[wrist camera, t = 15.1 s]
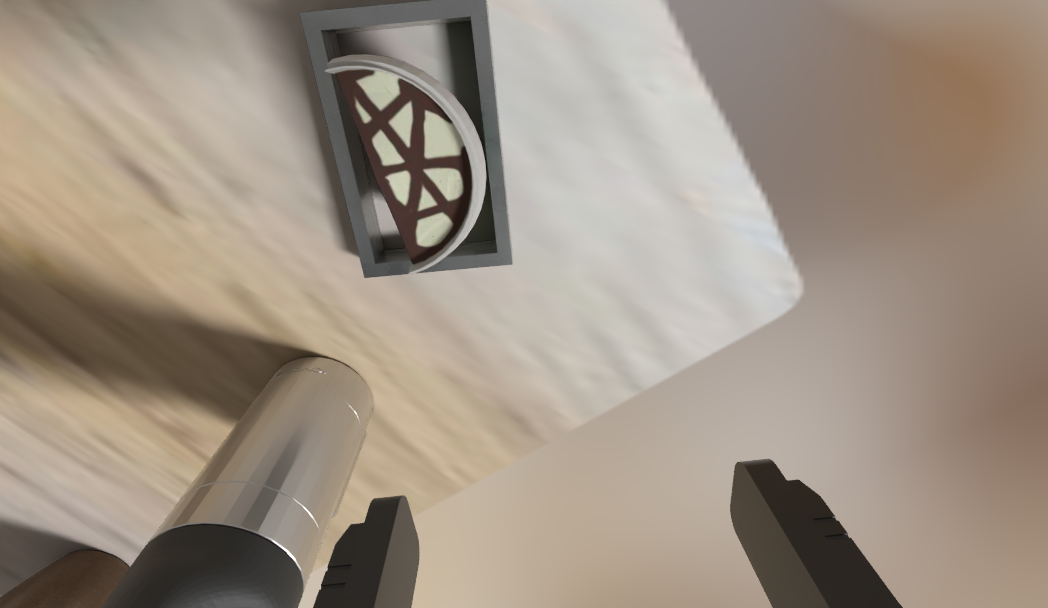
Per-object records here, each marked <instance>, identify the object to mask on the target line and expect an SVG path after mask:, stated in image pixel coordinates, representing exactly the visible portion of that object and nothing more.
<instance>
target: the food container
mask: <svg viewBox="0 0 1048 608" xmlns="http://www.w3.org/2000/svg"><path fill="white" fill-rule="evenodd" d="M327 66H328V68H329V69H327V70H325V72H328V73H332V74H335V75H336V78H337V81H338V83H339V87H340V90H341V92H342V93H343V95H344V97H345V99H346V102H347V104H348V106H349V109H350V111H351V114H352V116H353V119H354V121H355V124H356V127H357V129H358V132H359V134H360V137H361V140H362V142H363V145H364V147H365V150H366V153H367V156H368V159H369V161H370V164H371V167H372V170H373V172H374V175H375V178H376V180H377V182H378V185H379V187H380V189H381V191H382V193H383V196H384V198H385V200H386V202H387V204H388V207H389V209H390V211H391V214H392V216H393V218H394V221H395V223H396V225H397V228H398V230H399V233H400V235H401V238H402V240H403V243H404V245H405V247H406V250H407V252H408V255H409V257H410V260H411V262H412V263H411V267H410V270H409V274H411V273H412V274H414V273H417V272H419V271H422V270H425V269H427V268H429V267H431V266H432V265H434V264H436V263H438V262H439V261H441V260H442V259H443V258H445V257H446V256H447V255H448V254H450V253H451V252H452V251H453V250H454V249H456V248H457V247H458V246H459V244H460V243H461V242H462V241H463V240H464V239H465V238H466V237H467V235H468V234H469V232H470V231H471V229H472V227H473V226H474V224H475V222H476V220H477V218H478V215H479V213H480V211H481V208H482V204H483V200H484V196H485V188H486V165H485V158H484V153H483V149H482V144H481V141H480V139H479V136H478V134H477V131H476V129H475V126H474V124H473V123H472V121H471V119H470V117H469V116H468V114H467V112H466V110H465V109H464V108H463V107H462V105H461V104H460V103H459V102H458V100H457V99H456V98H455V96H454V95H453V94H452V93H451V92H450V91H448V90H447V89H446V88H445V87H444V86H443V85H442V84H441V83H440V82H439V81H437V80H436V79H434V78H433V77H431V76H430V75H429V74H427V73H426V72H424V71H423V70H420V69H418V68H416V67H414V66H412V65H410V64H408V63H406V62H403V61H400V60H396V59H393V58H390V57H385V56H377V55H369V54H364V55H348V56H343V57H339V58H334V59H332V60H331V61H330V62H329V63H328V64H327Z"/></svg>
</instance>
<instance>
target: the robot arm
mask: <svg viewBox="0 0 1048 608" xmlns="http://www.w3.org/2000/svg"><path fill="white" fill-rule="evenodd" d="M372 410H373V399H372V395H371V391H370V390H369V388H368V386H367V384H366V382H365V381H364V380H363V379H362V378H361V377H360V375H358V374H357V373H356V372H355V371H354V370H352V369H351V368H349V367H347V366H346V365H344V364H342V363H340V362H337V361H334V360H331V359H327V358H321V357H305V358H300V359H296V360H293V361H291V362H288V363H286V364H285V365H283V366H282V367H281V368H279V369H278V371H277V372H276V373H275V374H274V375H273V377H272V378H271V379H270V381H269V382H268V383H267V385H266V386H265V387H264V389H263V390H262V391H261V393H260V394H259V395H258V397H257V398H256V399H255V400H254V402H253V403H252V404H251V406H250V407H249V408H248V410H247V411H246V412H245V414H244V415H243V416H242V418H241V419H240V420H239V422H238V423H237V424H236V426H235V427H234V428H233V430H232V431H231V432H230V434H229V435H228V436H227V438H226V439H225V440H224V442H223V443H222V444H221V446H220V447H219V448H218V450H217V451H216V452H215V454H214V455H213V456H212V458H211V459H210V460H209V462H208V463H207V464H206V466H205V467H204V468H203V470H202V471H201V472H200V474H199V475H198V476H197V478H196V479H195V480H194V482H193V483H192V484H191V486H190V487H189V488H188V490H187V491H186V492H185V494H184V495H183V496H182V498H181V499H180V501H179V502H178V503H177V505H176V506H175V507H174V509H173V510H172V511H171V513H170V514H169V515H168V517H167V518H166V519H165V521H164V522H163V523H162V525H161V526H160V527H159V529H158V530H157V531H156V533H155V534H154V535H153V537H152V538H151V539H150V541H149V542H148V544H147V545H146V546H145V548H144V549H143V550H142V552H141V553H140V554H139V556H138V557H137V559H136V560H135V561H134V563H133V564H132V565H131V567H130V568H129V570H128V571H127V572H126V574H125V575H124V577H123V578H122V579H121V581H120V582H119V584H118V585H117V587H116V588H115V590H114V591H113V592H112V594H111V595H110V596H109V598H108V599H107V601H106V602H105V603H104V605H103V606H102V607H101V608H298V606H299V603H300V600H301V598H302V594H303V592H304V589H305V587H306V584H307V581H308V579H309V576H310V573H311V571H312V568H313V566H314V563H315V560H316V558H317V555H318V553H319V550H320V547H321V544H322V542H323V539H324V536H325V534H326V531H327V529H328V526H329V523H330V521H331V518H333V517H334V516H335V515H336V514H337V512H338V509H339V506H340V504H341V501H342V498H343V496H344V493H345V490H346V488H347V485H348V482H349V480H350V477H351V474H352V472H353V469H354V466H355V464H356V461H357V458H358V456H359V453H360V450H361V448H362V445H363V442H364V440H365V437H366V432H365V430H366V428H367V425H368V422H369V420H370V417H371V414H372ZM730 512H731V518H732V522H733V526H734V529H735V532H736V534H737V536H738V538H739V540H740V542H741V544H742V546H743V548H744V550H745V552H746V554H747V556H748V558H749V561H750V562H751V564H752V567H753V569H754V570H755V572H756V575H757V577H758V578H759V581H760V583H761V585H762V587H763V588H764V591H765V593H766V595H767V597H768V599H769V601H770V603H771V605H772V607H773V608H903V607H902V606H901V605H900V604H899V603H898V601H897V600H896V599H895V597H894V596H893V594H892V593H891V592H890V590H889V589H888V588H887V586H886V585H885V584H884V582H883V581H882V579H881V578H880V577H879V575H878V574H877V573H876V572H875V570H874V569H873V567H872V566H871V565H870V563H869V562H868V561H867V559H866V558H865V556H864V555H863V554H862V552H861V551H860V550H859V548H858V547H857V546H856V544H855V543H854V541H853V540H852V539H851V538H849V537H848V533H847V532H846V530H845V529H844V528H843V526H842V525H841V524H840V522H839V521H836V519H835V516H834V514H833V513H832V512H831V510H830V509H829V507H828V506H827V505H826V503H825V502H824V501H823V499H822V498H821V496H819V495H818V494H817V493H815V492H814V491H813V490H812V489H810V488H809V487H808V486H806V485H805V484H804V483H802V482H801V481H800V480H790V481H787V480H786V479H785V477H784V476H783V474H782V473H781V471H780V470H779V469H778V468H777V466H776V464H775V463H774V462H773V461H772V460H770V459H763V460H753V461H744V462H737V463H736V465H735V470H734V479H733V487H732V496H731V505H730ZM418 565H419V541H418V536H417V532H416V529H415V525H414V522H413V518H412V515H411V511H410V508H409V504H408V501H407V498H406V497H405V496H394V497H384V498H375V499H373V500H372V501H371V503H370V506H369V509H368V512H367V516H366V519H365V522H364V523H360V524H351V525H350V526H349V528H348V529H347V530H346V531H345V533H344V534H343V535H342V537H341V538H340V539H339V541H338V542H337V543H336V544H335V547H334V550H333V553H332V556H331V559H330V561H329V564H328V571H326V573H325V576H324V578H323V581H322V584H321V590H319V592H318V595H317V598H316V601H315V604H314V607H313V608H411V605H412V600H413V594H414V589H415V583H416V577H417V571H418Z"/></svg>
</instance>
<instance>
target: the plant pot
mask: <svg viewBox="0 0 1048 608" xmlns="http://www.w3.org/2000/svg"><path fill="white" fill-rule="evenodd" d="M128 570H129V567H128V566H127V565H126V564H125V563H124V562H122V561H121V560H119V559H118V558H116V557H114V556H112V555H109V554H106V553H103V552H99V551H91V550H82V551H75V552H72V553H70V554H68V555H66V556H64V557H63V558H61V559H59V560H58V561H56V562H55V563H53V564H51V565H50V566H48V567H46V568H45V569H43V570H42V571H40V572H38V573H37V574H35V575H34V576H32V577H30V578H29V579H27V580H26V581H24V582H23V583H21V584H20V585H18V586H17V587H15V588H14V589H12V590H11V591H9V592H8V593H6V594H5V595H3V596H2V597H1V598H0V608H101V607H102V606H103V605H104V603H105V602H106V601H107V599H108V598H109V596H110V595H111V594H112V592H113V591H114V590H115V588H116V587H117V585H118V584H119V582H120V581H121V579H122V578H123V577H124V575H125V574H126V572H127V571H128Z"/></svg>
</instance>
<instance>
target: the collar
mask: <svg viewBox="0 0 1048 608" xmlns="http://www.w3.org/2000/svg"><path fill="white" fill-rule="evenodd" d="M300 17H301V21H302V25H303V30H304V34H305V38H306V42H307V46H308V50H309V54H310V58H311V62H312V66H313V70H314V74H315V78H316V82H317V86H318V90H319V95H320V99H321V103H322V107H323V111H324V115H325V119H326V123H327V127H328V131H329V135H330V139H331V143H332V147H333V151H334V155H335V160H336V164H337V168H338V172H339V176H340V180H341V184H342V188H343V192H344V196H345V200H346V204H347V208H348V212H349V216H350V220H351V225H352V229H353V233H354V237H355V241H356V245H357V249H358V253H359V257H360V261H361V265H362V269H363V273H364V277H365V278H369V277H380V276H391V275H402V274H409V270H410V267H411V263H412V262H411V260H410V257H409V255H408V252H407V250H406V248H403V249H392V250H384V247H383V243H382V238H381V234H380V229H379V224H378V220H377V215H376V211H375V206H374V202H373V197H372V193H371V188H370V184H369V179H368V175H367V170H366V166H365V161H364V157H363V152H362V148H361V143H360V139H359V134H358V129H357V127H356V124H355V121H354V119H353V116H352V114H351V111H350V109H349V106H348V104H347V102H346V99H345V97H344V95H343V93H342V92H341V90H340V87H339V83H338V81H337V78H336V75H335V74H332V73H328V72H325V70H327V69H329V68H328V66H327V64H328V63H329V62H330V61H331V60H332V59H334V58H339V57H341V53H340V48H339V44H338V39H337V34H336V33H346V32H357V31H367V30H378V29H389V28H400V27H410V26H421V25H432V24H442V23H453V22H464V21H471V24H472V32H473V41H474V50H475V59H476V68H477V76H478V85H479V94H480V103H481V111H482V120H483V129H484V138H485V147H486V155H487V164H488V173H489V182H490V191H491V199H492V208H493V217H494V226H495V235H496V240H490V241H479V242H469V243H460V244H459V246H458V247H457V248H456V249H454V250H453V251H452V252H451V253H450V254H448V255H447V256H446V257H445V258H443V259H442V260H441V261H439V262H438V263H436V264H434V265H432V266H431V267H429V268H427V269H425V270H422V271H419V272H417V273H423V272H434V271H445V270H456V269H467V268H478V267H489V266H500V265H511V264H512V246H511V236H510V226H509V216H508V206H507V196H506V186H505V176H504V166H503V156H502V146H501V136H500V126H499V116H498V106H497V96H496V86H495V76H494V66H493V56H492V46H491V36H490V26H489V16H488V6H487V0H429V1H418V2H407V3H397V4H386V5H375V6H365V7H354V8H343V9H333V10H322V11H311V12H301V13H300ZM411 274H412V273H411Z"/></svg>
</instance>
